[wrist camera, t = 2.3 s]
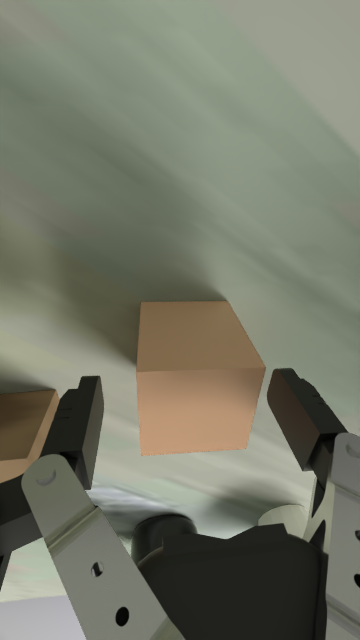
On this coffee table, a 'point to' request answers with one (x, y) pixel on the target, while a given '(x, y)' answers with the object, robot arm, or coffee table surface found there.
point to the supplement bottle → (157, 534)
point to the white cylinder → (287, 518)
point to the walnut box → (24, 429)
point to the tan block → (195, 378)
